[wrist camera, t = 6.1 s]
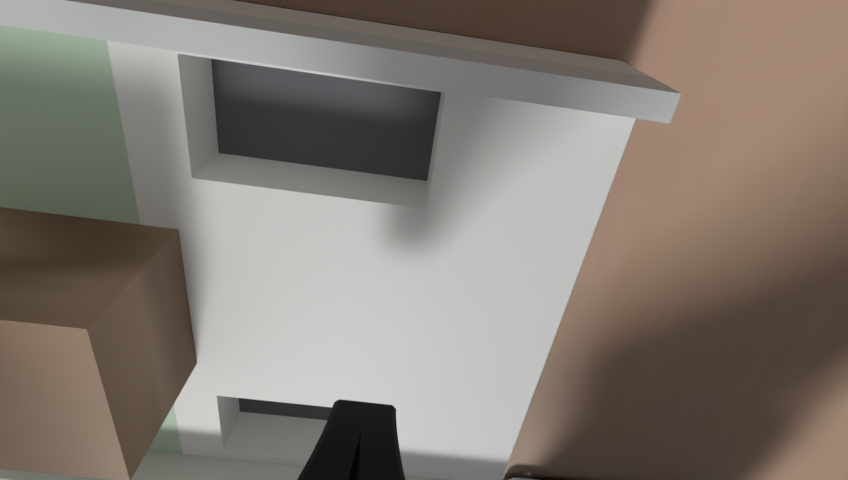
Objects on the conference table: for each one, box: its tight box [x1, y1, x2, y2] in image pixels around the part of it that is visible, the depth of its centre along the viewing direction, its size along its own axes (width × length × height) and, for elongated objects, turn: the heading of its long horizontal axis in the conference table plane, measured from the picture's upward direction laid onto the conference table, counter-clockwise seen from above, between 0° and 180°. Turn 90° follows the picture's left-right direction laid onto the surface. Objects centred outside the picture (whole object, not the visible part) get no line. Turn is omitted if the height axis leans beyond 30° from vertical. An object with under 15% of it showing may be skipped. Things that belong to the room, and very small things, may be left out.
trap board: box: [0, 0, 681, 480], centre depth 14 cm, size 20×16×4 cm
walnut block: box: [0, 207, 197, 480], centre depth 12 cm, size 6×5×4 cm
